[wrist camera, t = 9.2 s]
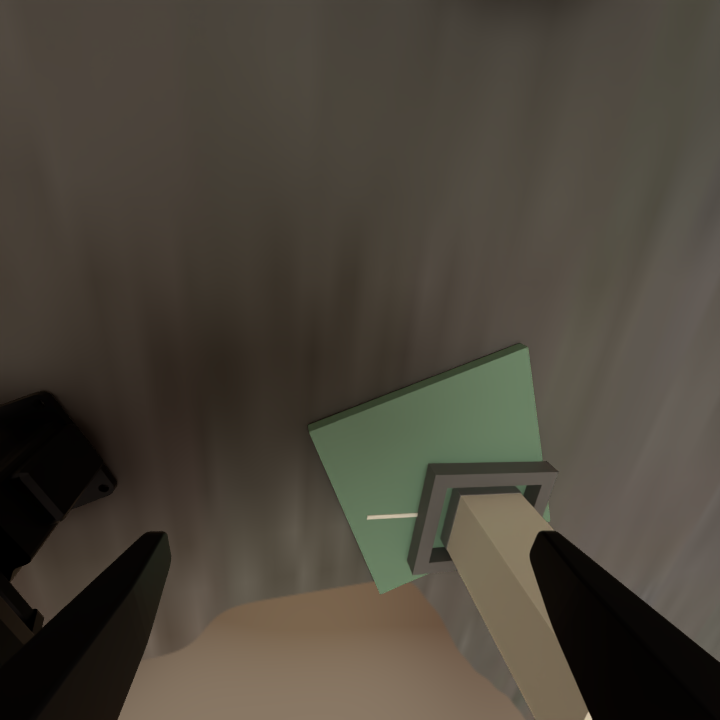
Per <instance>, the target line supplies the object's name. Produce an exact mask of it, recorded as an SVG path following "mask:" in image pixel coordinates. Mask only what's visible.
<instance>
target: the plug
mask: <svg viewBox="0 0 720 720" xmlns="http://www.w3.org/2000/svg"><path fill="white" fill-rule="evenodd" d="M543 530H552V531H554V530H553V528H552V527H551V526H550V525H549V524H548V523H547V522H546V521H545V520H544V518H543V517H542V516H541V515H540V514H539V513H538V512H537V511H536V510H535V508H534V507H533V506H532V505H531V504H530V503H529V502H528V501H527V500H526V499H525V497H524V496H523V495H522V494H521V491H520V490H519V489H518V488H517V487H516V486H494V487H466V488H453V489H452V493H451V497H450V501H449V505H448V509H447V513H446V517H445V521H444V525H443V529H442V533H441V537H440V539H441V541H442V543H443V545H444V547H445V549H446V550H447V551H448V553H449V555H450V557H451V558H452V560H453V562H454V564H455V566H456V568H457V570H458V572H459V574H460V576H461V578H462V580H463V582H464V583H465V585H466V587H467V589H468V591H469V593H470V595H471V597H472V599H473V601H474V603H475V605H476V607H477V608H478V610H479V612H480V614H481V616H482V618H483V620H484V622H485V624H486V626H487V628H488V630H489V632H490V633H491V635H492V637H493V639H494V641H495V643H496V645H497V647H498V649H499V651H500V653H501V655H502V657H503V659H504V660H505V662H506V664H507V666H508V668H509V670H510V672H511V674H512V676H513V678H514V680H515V682H516V684H517V685H518V687H519V689H520V691H521V693H522V695H523V697H524V699H525V701H526V703H527V705H528V707H529V709H530V710H531V712H532V714H533V716H534V718H535V720H592V718H591V716H590V714H589V711H588V709H587V707H586V704H585V702H584V700H583V698H582V695H581V693H580V691H579V688H578V686H577V684H576V681H575V679H574V677H573V674H572V672H571V670H570V668H569V665H568V663H567V661H566V658H565V656H564V654H563V651H562V649H561V647H560V644H559V642H558V640H557V637H556V635H555V633H554V630H553V628H552V625H551V622H550V619H549V617H548V614H547V611H546V608H545V605H544V602H543V599H542V596H541V593H540V590H539V587H538V584H537V581H536V578H535V575H534V572H533V569H532V566H531V563H530V558H529V554H530V549H531V547H532V545H533V543H534V540H535V538H536V536H537V534H538V532H540V531H543Z"/></svg>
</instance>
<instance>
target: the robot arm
mask: <svg viewBox="0 0 720 720" xmlns="http://www.w3.org/2000/svg"><path fill="white" fill-rule="evenodd" d="M37 400H42V401H43V402H44V404H45V405H41V404H39V403H38V401H37ZM103 484H104V485H107V486H108V487H104V486H102V485H103ZM116 486H117V482H116V480H115V478H114V477H113V476H112V474H111V473H110V472H109V470H108V469H107V468H106V466H105V465H104V464H103V461H102V459H101V458H100V457H99V455H98V454H97V453H96V451H95V450H94V448H93V447H92V446H91V444H90V443H89V442H88V440H87V439H86V438H85V436H84V435H83V434H82V432H81V431H80V430H79V428H78V427H77V426H76V425H74V424H73V422H72V421H71V420H70V418H69V417H68V416H67V414H66V413H65V412H64V410H63V409H62V408H61V406H60V405H59V404H58V402H57V401H56V400H55V398H54V397H53V396H52V395H51V394H49V393H47V392H42V391H41V392H36V393H33V394H30V395H27V396H25V397H22V398H19V399H16V400H13V401H11V402H8V403H5V404H2V405H0V720H118V717H119V715H120V712H121V710H122V707H123V705H124V702H125V699H126V697H127V694H128V692H129V689H130V687H131V684H132V682H133V679H134V677H135V674H136V671H137V669H138V666H139V664H140V661H141V659H142V656H143V654H144V651H145V648H146V646H147V643H148V640H149V636H150V633H151V630H152V627H153V623H154V620H155V616H156V613H157V609H158V606H159V602H160V599H161V595H162V592H163V588H164V585H165V582H166V578H167V575H168V571H169V568H170V563H171V552H170V547H169V541H168V536H167V534H166V532H163V531H150V532H146V533H145V534H143V535H142V536H141V537H140V538H139V539H138V540H137V541H136V542H134V543H133V544H132V545H131V546H130V547H129V548H128V549H127V550H126V551H125V552H124V553H123V554H122V555H120V556H119V557H118V558H117V559H116V560H115V561H114V562H113V563H112V564H111V565H110V566H109V567H107V568H106V569H105V570H104V571H103V572H102V573H101V574H100V575H99V576H98V577H97V578H96V579H95V580H93V581H92V582H91V583H90V584H89V585H88V586H87V587H86V588H85V589H84V590H83V591H82V592H81V593H79V594H78V595H77V596H76V597H75V598H74V599H73V600H72V601H71V602H70V603H69V604H68V605H66V606H65V607H64V608H63V609H62V610H61V611H60V612H59V613H58V614H57V615H56V616H55V617H54V618H52V619H51V620H50V621H49V622H48V623H47V624H46V625H45V626H44V627H43V628H42V625H43V621H44V617H43V616H42V614H41V613H40V612H39V611H38V610H37V609H32V608H31V607H30V606H29V604H28V603H27V602H26V601H25V600H24V599H23V597H22V596H21V595H20V594H19V593H18V591H17V590H16V589H15V588H14V587H13V586H12V584H11V583H10V582H11V581H12V580H13V578H14V577H15V576H16V574H17V573H18V572H19V570H20V569H21V567H22V566H24V565H26V564H28V563H29V562H31V560H32V559H33V557H34V556H35V555H36V553H37V552H38V551H39V549H40V548H41V547H42V545H43V544H44V542H45V541H46V540H47V538H48V537H49V536H50V534H51V533H52V531H53V530H54V529H55V527H56V526H57V525H58V523H59V522H60V521H62V520H63V519H64V518H65V517H66V515H67V514H68V513H69V511H70V510H71V509H74V508H77V507H79V506H82V505H84V504H87V503H90V502H92V501H95V500H97V499H100V498H103V497H105V496H108V495H110V494H111V493H112V492H113V491H114V490H115V488H116ZM529 558H530V563H531V566H532V569H533V572H534V575H535V578H536V581H537V584H538V587H539V590H540V593H541V596H542V599H543V602H544V605H545V608H546V611H547V614H548V617H549V619H550V622H551V625H552V628H553V630H554V633H555V635H556V637H557V640H558V642H559V644H560V647H561V649H562V651H563V654H564V656H565V658H566V661H567V663H568V665H569V668H570V670H571V672H572V674H573V677H574V679H575V681H576V684H577V686H578V688H579V691H580V693H581V695H582V698H583V700H584V702H585V704H586V707H587V709H588V711H589V714H590V716H591V718H592V720H720V662H719V661H717V660H716V659H715V658H714V657H712V656H711V655H710V654H709V653H707V652H706V651H705V650H704V649H702V648H701V647H700V646H699V645H698V644H696V643H695V642H694V641H693V640H691V639H690V638H689V637H688V636H686V635H685V634H684V633H683V632H681V631H680V630H679V629H678V628H676V627H675V626H674V625H673V624H671V623H670V622H669V621H668V620H667V619H665V618H664V617H663V616H662V615H660V614H659V613H658V612H657V611H655V610H654V609H653V608H652V607H650V606H649V605H648V604H647V603H645V602H644V601H643V600H642V599H640V598H639V597H638V596H637V595H635V594H634V593H633V592H632V591H631V590H629V589H628V588H627V587H626V586H624V585H623V584H622V583H621V582H619V581H618V580H617V579H616V578H614V577H613V576H612V575H611V574H609V573H608V572H607V571H606V570H604V569H603V568H602V567H601V566H600V565H598V564H597V563H596V562H595V561H593V560H592V559H591V558H590V557H588V556H587V555H586V554H585V553H583V552H582V551H581V550H580V549H578V548H577V547H576V546H575V545H573V544H572V543H571V542H570V541H568V540H567V539H566V538H565V537H564V536H562V535H561V534H560V533H558V532H556V531H552V530H543V531H540V532H538V534H537V536H536V538H535V540H534V543H533V545H532V547H531V549H530V554H529Z"/></svg>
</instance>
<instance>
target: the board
mask: <svg viewBox="0 0 720 720" xmlns="http://www.w3.org/2000/svg"><path fill="white" fill-rule="evenodd" d="M308 430H309V434H310V436H311V438H312V440H313V443H314V445H315V447H316V449H317V452H318V454H319V456H320V459H321V461H322V463H323V465H324V468H325V470H326V472H327V474H328V477H329V479H330V481H331V484H332V486H333V488H334V490H335V493H336V495H337V497H338V499H339V502H340V504H341V506H342V509H343V511H344V513H345V515H346V518H347V520H348V522H349V525H350V527H351V529H352V531H353V534H354V536H355V538H356V540H357V543H358V545H359V547H360V550H361V552H362V554H363V556H364V559H365V561H366V563H367V565H368V568H369V570H370V572H371V575H372V577H373V579H374V581H375V584H376V586H377V588H378V590H379V593H380V594H383V593H385V592H387V591H390V590H392V589H394V588H396V587H399V586H401V585H403V584H406V583H408V582H410V581H413V580H415V579H417V578H420V577H422V576H424V575H426V574H430V573H441V572H451V571H458V570H457V568H456V566H455V564H454V562H453V560H452V558H451V557H450V555H449V553H448V551H447V550H446V549H445V547H444V545H443V543H442V541H441V539H440V537H441V533H442V529H443V525H444V521H445V517H446V513H447V509H448V505H449V501H450V497H451V493H452V489H453V488H466V487H494V486H516V487H517V488H518V489H519V490H520V491H521V494H522V495H523V496H524V497H525V499H526V500H527V501H528V502H529V503H530V504H531V505H532V506H533V507H534V508H535V510H536V511H537V512H538V513H539V514H540V515H541V516H542V517H543V518H544V520H545V521H546V522H549V521H550V514H549V506H548V501H549V498H550V495H551V492H552V490H553V487H554V484H555V481H556V479H557V476H558V473H559V472H558V471H557V470H556V469H555V468H554V467H553V466H552V465H550V464H549V463H548V462H547V461H543V460H542V452H541V444H540V436H539V428H538V421H537V413H536V405H535V397H534V390H533V382H532V374H531V366H530V359H529V351H528V347H527V346H525V345H523V344H521V343H519V344H516V345H514V346H511V347H508V348H506V349H503V350H501V351H498V352H496V353H493V354H490V355H488V356H485V357H483V358H480V359H477V360H475V361H472V362H470V363H467V364H465V365H462V366H459V367H457V368H454V369H452V370H449V371H446V372H444V373H441V374H439V375H436V376H434V377H431V378H428V379H426V380H423V381H421V382H418V383H415V384H413V385H410V386H408V387H405V388H402V389H400V390H397V391H395V392H392V393H390V394H387V395H384V396H382V397H379V398H377V399H374V400H371V401H369V402H366V403H364V404H361V405H359V406H356V407H353V408H351V409H348V410H346V411H343V412H340V413H338V414H335V415H333V416H330V417H327V418H325V419H322V420H320V421H317V422H315V423H312V424H309V425H308Z"/></svg>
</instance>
